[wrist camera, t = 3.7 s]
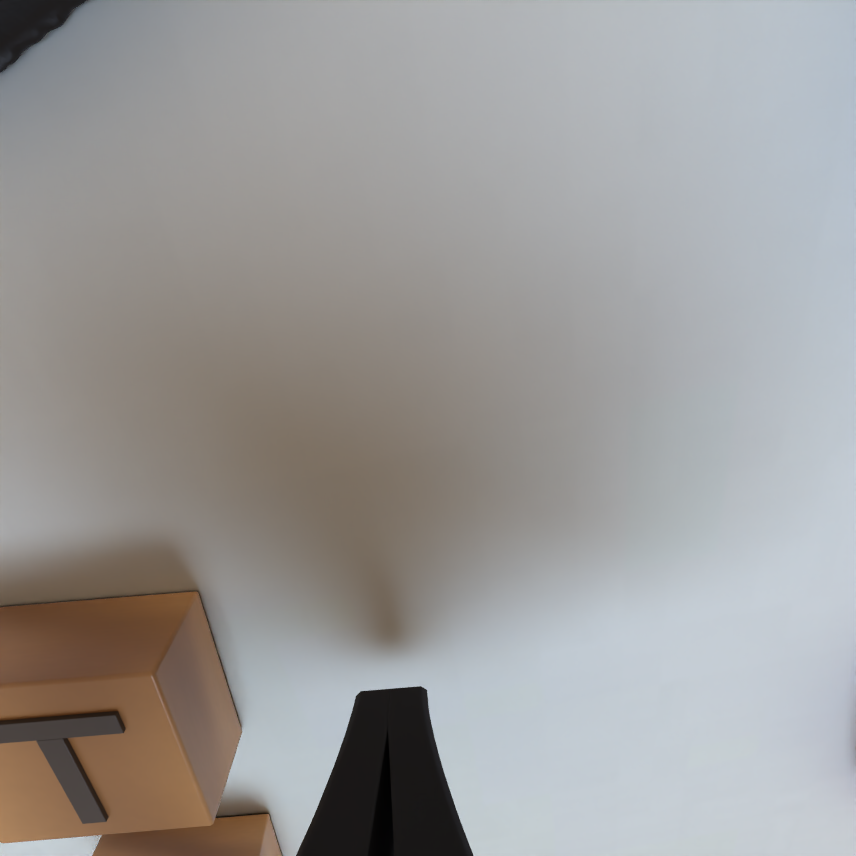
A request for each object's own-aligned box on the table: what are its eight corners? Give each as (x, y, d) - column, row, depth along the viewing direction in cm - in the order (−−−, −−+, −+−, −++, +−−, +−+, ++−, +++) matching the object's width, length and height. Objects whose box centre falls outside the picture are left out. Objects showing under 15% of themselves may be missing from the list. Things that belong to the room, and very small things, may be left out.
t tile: (62, 746, 13) (-4, 851, 11) (-12, 606, 11) (-110, 699, 9) (243, 731, 13) (212, 832, 11) (198, 589, 11) (151, 677, 9)
